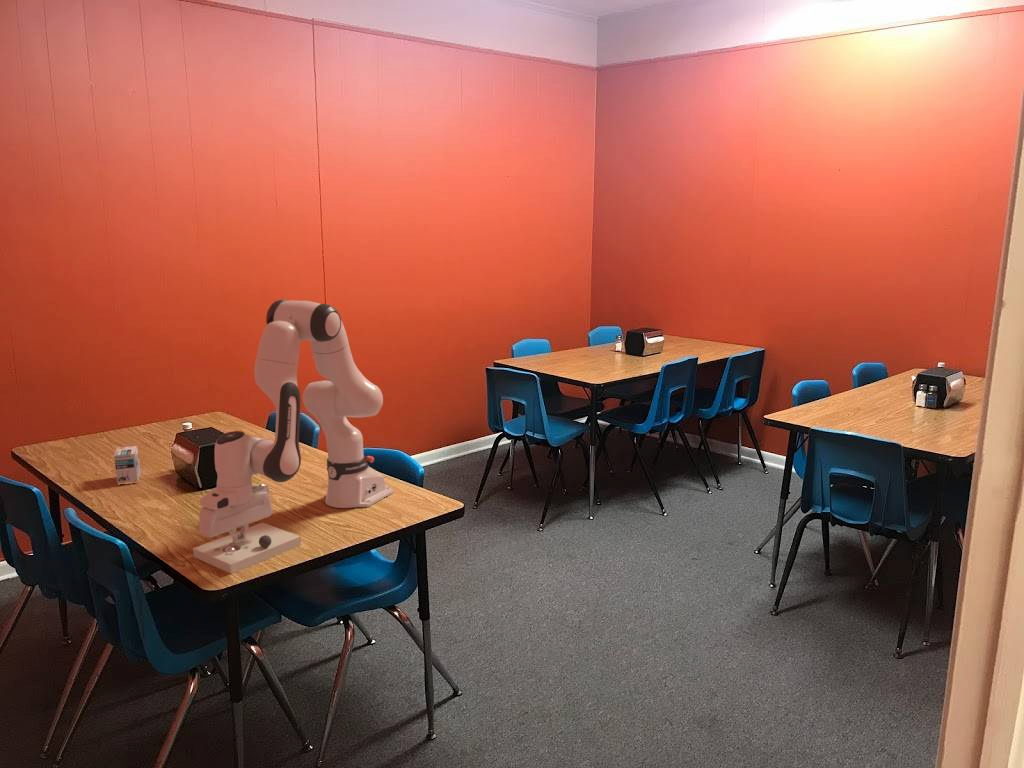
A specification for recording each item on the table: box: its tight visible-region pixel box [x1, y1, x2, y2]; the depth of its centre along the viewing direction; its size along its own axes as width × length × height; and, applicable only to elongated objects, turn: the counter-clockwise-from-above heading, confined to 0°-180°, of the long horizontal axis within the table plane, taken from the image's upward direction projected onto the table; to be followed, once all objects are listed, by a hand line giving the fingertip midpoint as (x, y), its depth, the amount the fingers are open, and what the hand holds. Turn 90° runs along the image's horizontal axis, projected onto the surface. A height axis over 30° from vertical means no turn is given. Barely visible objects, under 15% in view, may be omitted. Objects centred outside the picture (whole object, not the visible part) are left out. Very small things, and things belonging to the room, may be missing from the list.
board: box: [192, 522, 302, 575], centre depth 211 cm, size 22×17×2 cm
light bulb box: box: [113, 445, 141, 483], centre depth 268 cm, size 11×7×11 cm, turn 22°
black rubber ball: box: [259, 535, 271, 547], centre depth 207 cm, size 3×3×3 cm
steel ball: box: [224, 546, 237, 552], centre depth 207 cm, size 3×3×3 cm
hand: (239, 541), depth 208 cm, fingers closed
